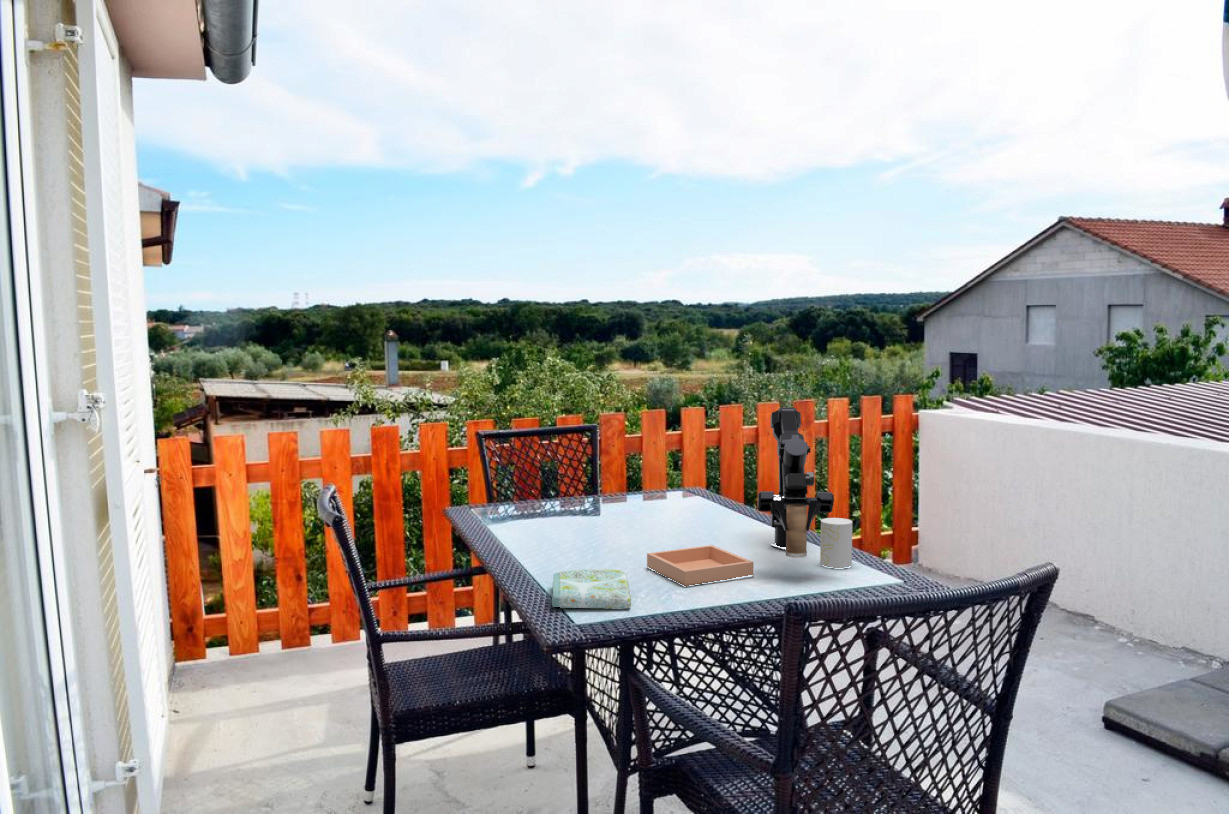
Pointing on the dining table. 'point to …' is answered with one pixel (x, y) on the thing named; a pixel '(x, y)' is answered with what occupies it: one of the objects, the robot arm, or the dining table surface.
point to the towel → (591, 589)
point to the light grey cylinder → (836, 542)
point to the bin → (699, 565)
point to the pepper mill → (796, 530)
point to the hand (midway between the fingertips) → (796, 530)
